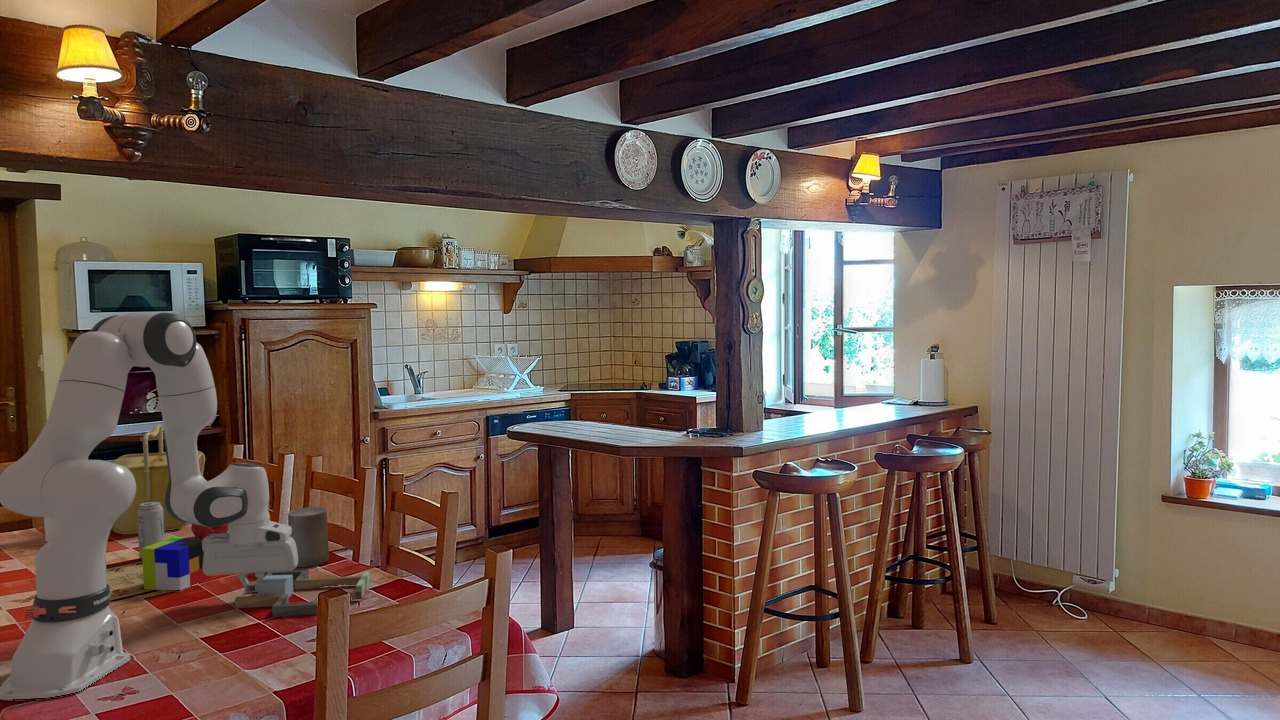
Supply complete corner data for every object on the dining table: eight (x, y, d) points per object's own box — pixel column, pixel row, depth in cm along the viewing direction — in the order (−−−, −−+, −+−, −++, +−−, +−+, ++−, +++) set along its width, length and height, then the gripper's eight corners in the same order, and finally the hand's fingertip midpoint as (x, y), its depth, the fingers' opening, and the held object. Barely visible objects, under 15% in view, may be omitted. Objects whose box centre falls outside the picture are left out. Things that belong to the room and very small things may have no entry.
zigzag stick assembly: (355, 612, 191) (355, 596, 191) (224, 619, 187) (224, 603, 187) (375, 575, 217) (375, 561, 217) (261, 581, 214) (260, 567, 213)
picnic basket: (119, 517, 283) (115, 425, 281) (207, 509, 292) (204, 420, 290) (99, 539, 256) (94, 437, 254) (197, 530, 265) (193, 432, 263)
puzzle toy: (180, 591, 207) (178, 550, 206) (143, 589, 209) (142, 548, 208) (209, 578, 216) (207, 539, 216) (174, 576, 218) (172, 537, 218)
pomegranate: (184, 541, 253) (182, 509, 252) (210, 532, 262) (208, 501, 262) (212, 542, 250) (210, 510, 249) (237, 533, 259) (235, 502, 259)
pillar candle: (334, 556, 234) (331, 501, 233) (322, 567, 224) (319, 509, 224) (297, 557, 234) (295, 502, 233) (284, 568, 224) (281, 511, 223)
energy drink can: (163, 560, 233) (161, 504, 232) (137, 563, 230) (135, 507, 229) (166, 554, 238) (164, 500, 237) (141, 557, 236) (139, 502, 235)
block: (285, 602, 199) (284, 582, 198) (258, 603, 198) (257, 583, 198) (293, 593, 205) (292, 574, 204) (266, 594, 204) (266, 575, 204)
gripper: (196, 538, 195) (199, 598, 196) (292, 533, 198) (294, 593, 199) (206, 530, 202) (209, 589, 202) (298, 526, 204) (301, 584, 205)
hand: (252, 591), depth 201 cm, fingers closed
